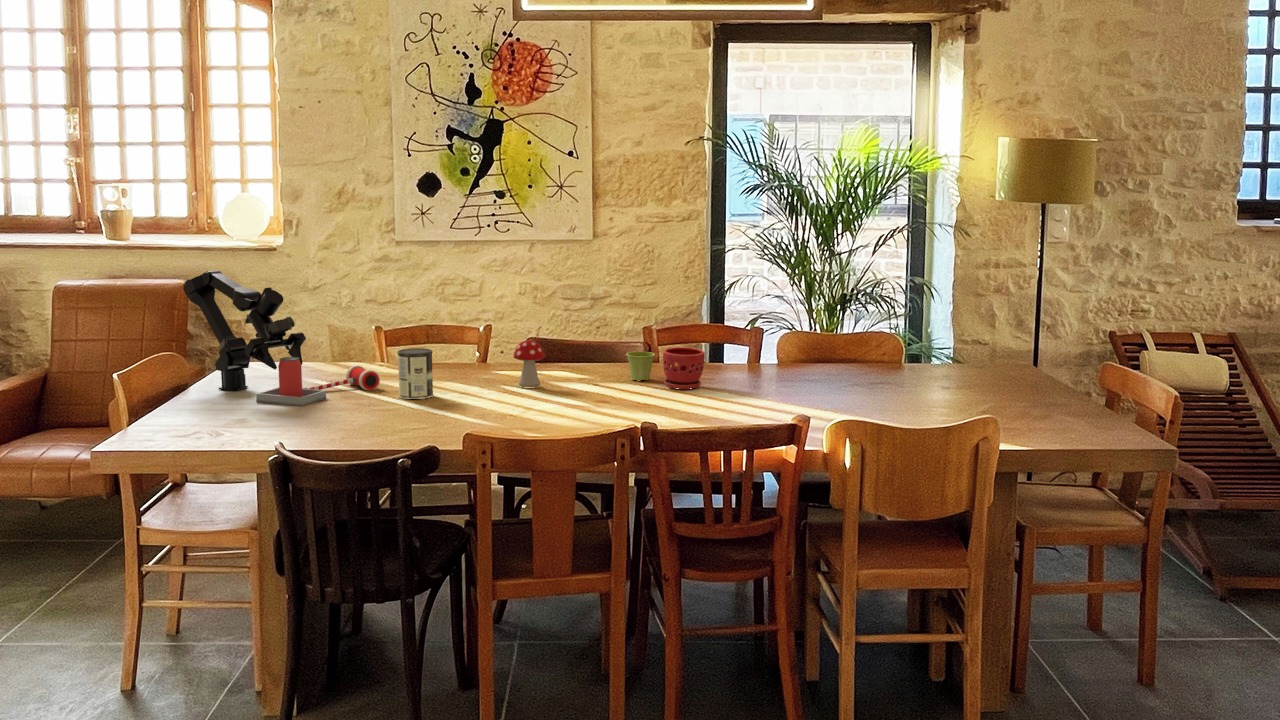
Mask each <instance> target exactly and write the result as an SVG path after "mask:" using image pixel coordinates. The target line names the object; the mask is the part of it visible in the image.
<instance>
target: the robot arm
mask: <svg viewBox="0 0 1280 720" xmlns="http://www.w3.org/2000/svg"><path fill="white" fill-rule="evenodd" d="M182 289H183V291H184V294H185V295H186V297H187V298H188V300H189V301H190V302H191V303H192V304H194V305H196V306H198V307H199V308H200V310H201V312H202V314H203V316H204V318H205V319H206V321H207V323H208V324H209V326H210V329H211V330H212V333H213V334H214V336H215V338H216V340H217V342H218V343H219V349H218V354H219V357H218V358H217V360H216V361H215V363H214V366H215V369H216V371H220V374H221V378H220V379H221V387H220V386H219V387H218V390H219V389H224V390H223V391H230V390H237V391H240V390H239V389H241V390H243V389H242V388H244V389H248V388H249V385H246V383H247V381H246V374H245V369H249V366H250V362H251V359H252V360H253V359H255V360H256V361H259V362H260V363H263V364H264V365H266V366H268V367H269V368H270V369H273V370H275V371H276V370H277V369H278V367H277V364H276V362H275V360H274V359H273V357H272V355H271V353H270V351H269V349H275V348H281V347H283V348H284V347H285V348H286V349H285V350H288V352H287V353H288V354H289V355H290V357H298V358H299V360H300V363H301V366H302V365H303V358H302V351H301V350H302V349H301V347H302V346H303V344H304V343H305V341H306V339H307V337H306V335H305V334H304V332H299V331H298V332H293V333H292V332H291V333H290V334H289V336H288V337H287V338H284V337H285V336H286V335H287V333H286V332H288V331H291V330H292V329H293V328H294V327H295V326H296V324H295V321H294V319H293V318H292V317H291V316H286V317H285V318H281V319H277V320H274V321H273V319H272V317H271V316H274V315H275V314H276V313H277V311H278V309H279V308H281V305H282V304H283V303H284V296H283V295H282V294H281V293H279V292H278V291H277V290H274V289H272V287H265V288H264V289H263V291H262V293H261V292H260V291H259V290H256V289H253V288H248V287H244V286H241V285H240V284H238V283H237V282H235V281H233V280H232V279H231V278H229V277H227V275H224V274H223V273H222V271H220V270H218V269H217V270H208V271H205V272H203V273H202V274H200V275H197V276H195V277H193V278H189V279H186V281H185V283H184V285H183V287H182ZM216 290H217V291H218V292H220V293H222V294H223V295H225V296H226V297H228V298H229V299H230V300H231V301H232V305H233V306H234V307H235V308H236V309H237V310H238V311H239V312H249V311H250V312H249V314H246V319H245V321H244V322H245V325H247V324H248V325H249V324H251V325H252V327H253V329H254V331H255V332H256V333H255V337H256V338H255V337H254V338H251V339H250V340H249V341H248V343H246V342H247V341H246V340H245V338H244V337H236V336H235V335H234V333H233V330H232V329H231V327H230V325H229V324H228V322H227V320H226V318H225V316H224V315H223V313H222V310H221V309H220V307H219V305H218V303H217V302H216V300H215V296H216ZM247 387H248V388H247Z"/></svg>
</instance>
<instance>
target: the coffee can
mask: <svg viewBox="0 0 1280 720" xmlns="http://www.w3.org/2000/svg"><path fill="white" fill-rule="evenodd" d="M397 358H398V359H397V362H398V363H397V364H398V389H399V391H398V392H399V393H398V397H400V398H399V399H401V398H402V399H401V400H406V399H422V400H425V399H424V398H428V399H430V398H429V397H432V396H433V397H434V390H433V389H434V387H433V386H434V385H433V381H434V380H433V378H434V377H433V350H432V349H429V348H420V347H419V348H418V347H417V348H415V347H414V348H404V349H400V350H397ZM433 397H432V398H433Z"/></svg>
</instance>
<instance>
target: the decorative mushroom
mask: <svg viewBox="0 0 1280 720" xmlns="http://www.w3.org/2000/svg"><path fill="white" fill-rule="evenodd" d="M513 359H515V360H518V361H523V365H522V369H521V374H520V379H519V381H518V385H519V387H520V386H522V387H538V386H539V387H540V385H541V380H540V379H539V376H538V371H537V370H538V369H537V366H536V361H540V360H543V359H546V354H545V351H544V349H543V347H542V346H541V344H540V343H539V342H537V341H536V340H533V339H527V340H526V339H525V340H523V341H521V342H520V343H518V345H517V346H516V347H515V351H514V353H513Z"/></svg>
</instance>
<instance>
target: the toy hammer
mask: <svg viewBox="0 0 1280 720" xmlns="http://www.w3.org/2000/svg"><path fill="white" fill-rule="evenodd" d="M345 378H346V379H342V380H338V381H334V382H330V383H325V384H320V385H317V386H312V387H302V389H314V390H326V389H329V388H334V387H338V386H343V385H344V386H345V385H348V384H350V385H351V386H359V387H361V389H363V390H365V391H371V389H373V390H376V389H377V388H378V387H379V386H380V383H381V382H380V380H381V378H380V375H379V373H377V372H376V371H375V370H372V369H365V367H363V366H362V365H361V366H360V365H359V364H358V365H356V364H355V365H352V366H350V367H349V368H348V369H347V370H346V374H345Z"/></svg>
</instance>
